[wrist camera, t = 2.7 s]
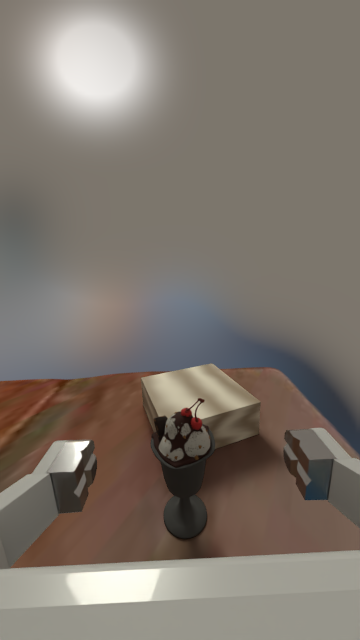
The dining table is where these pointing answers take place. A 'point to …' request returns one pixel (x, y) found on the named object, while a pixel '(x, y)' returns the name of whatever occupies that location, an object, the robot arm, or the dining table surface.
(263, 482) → the dining table surface
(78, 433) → the dining table surface
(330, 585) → the robot arm
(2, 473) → the dining table surface
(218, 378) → the cream block
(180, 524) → the sundae
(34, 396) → the dining table surface
